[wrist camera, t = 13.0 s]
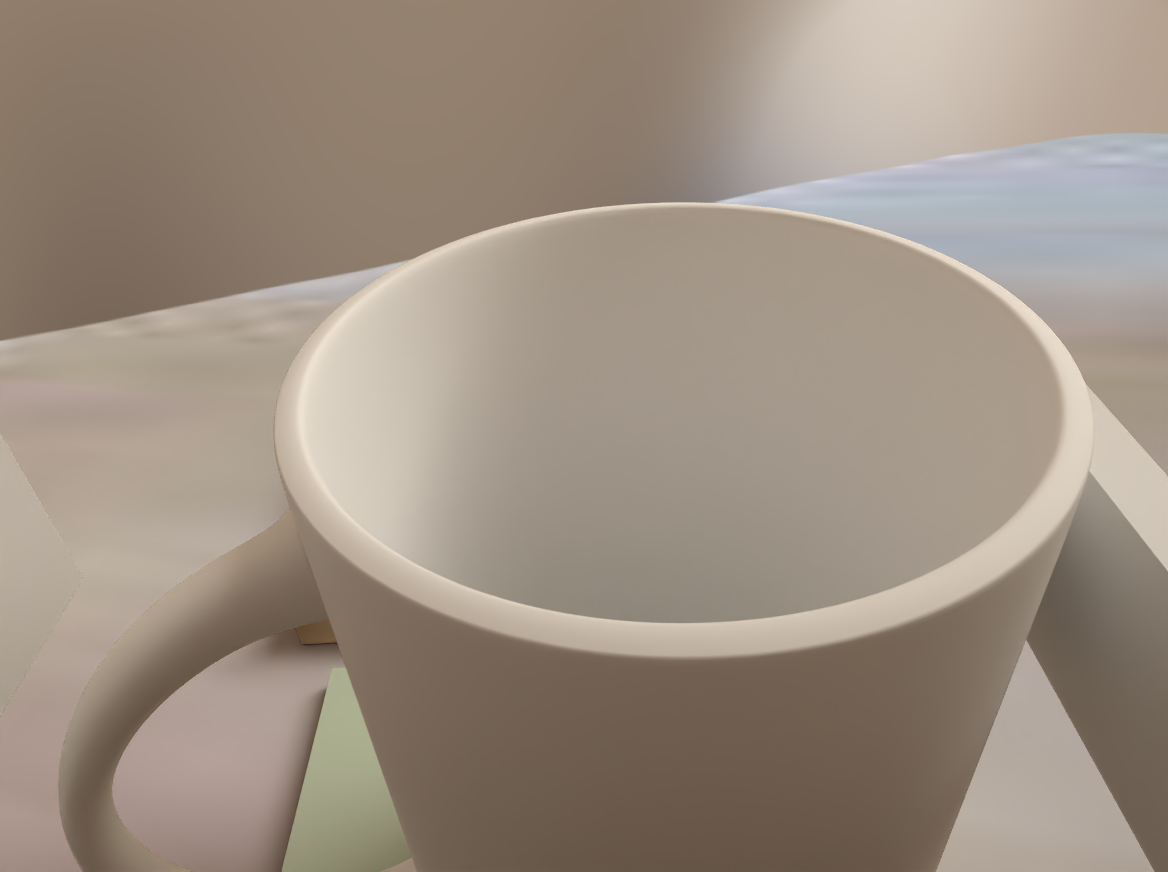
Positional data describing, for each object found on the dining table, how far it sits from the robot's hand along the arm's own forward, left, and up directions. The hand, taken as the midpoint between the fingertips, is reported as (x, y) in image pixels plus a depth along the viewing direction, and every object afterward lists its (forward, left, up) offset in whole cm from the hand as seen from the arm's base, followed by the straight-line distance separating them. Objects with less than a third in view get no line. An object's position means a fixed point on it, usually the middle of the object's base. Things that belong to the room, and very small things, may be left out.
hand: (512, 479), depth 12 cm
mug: (0, +2, -9) cm, 10 cm away
